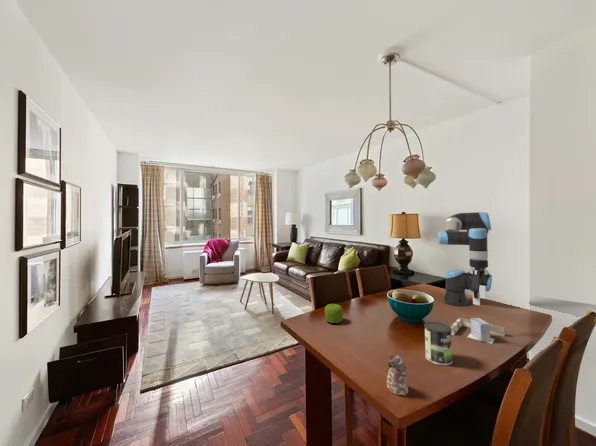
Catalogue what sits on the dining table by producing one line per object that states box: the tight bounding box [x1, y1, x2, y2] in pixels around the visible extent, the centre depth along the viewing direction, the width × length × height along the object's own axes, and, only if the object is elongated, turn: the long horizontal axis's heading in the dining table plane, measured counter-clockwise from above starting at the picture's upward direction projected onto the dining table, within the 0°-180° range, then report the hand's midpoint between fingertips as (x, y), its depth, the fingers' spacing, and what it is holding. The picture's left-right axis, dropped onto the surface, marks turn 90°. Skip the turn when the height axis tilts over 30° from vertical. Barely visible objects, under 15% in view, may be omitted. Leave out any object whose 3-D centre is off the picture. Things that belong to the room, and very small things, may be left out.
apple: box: [324, 303, 344, 324], centre depth 150 cm, size 11×11×11 cm
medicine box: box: [470, 317, 491, 342], centre depth 124 cm, size 8×4×9 cm, turn 176°
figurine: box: [386, 353, 409, 396], centre depth 89 cm, size 7×7×12 cm
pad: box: [467, 332, 495, 345], centre depth 124 cm, size 6×10×1 cm, turn 43°
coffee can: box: [424, 321, 453, 366], centre depth 107 cm, size 10×10×14 cm
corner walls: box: [450, 317, 506, 337], centre depth 128 cm, size 17×20×4 cm
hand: (479, 301), depth 124 cm, fingers open, 13 cm apart
